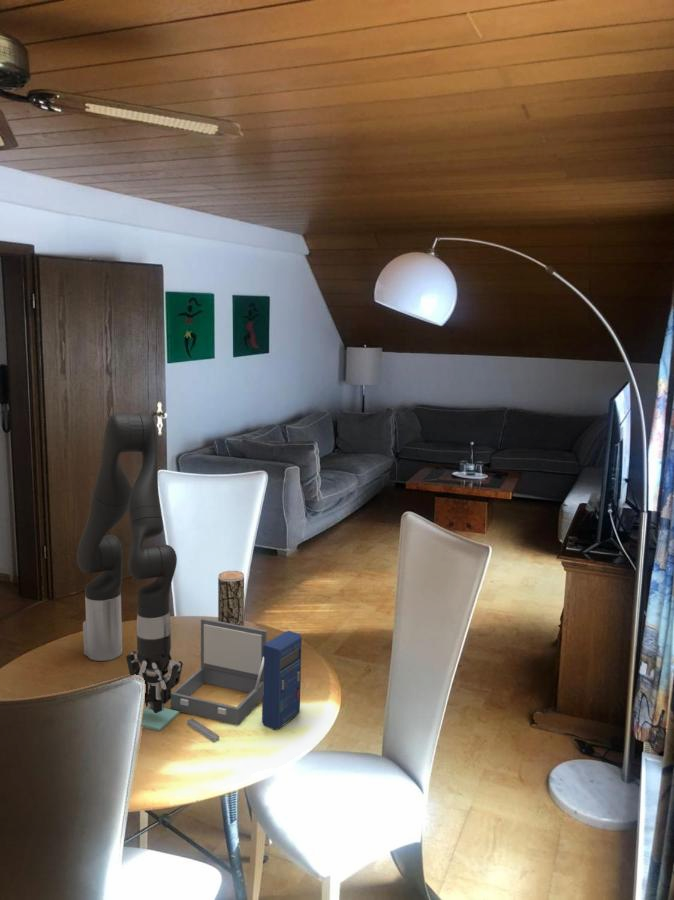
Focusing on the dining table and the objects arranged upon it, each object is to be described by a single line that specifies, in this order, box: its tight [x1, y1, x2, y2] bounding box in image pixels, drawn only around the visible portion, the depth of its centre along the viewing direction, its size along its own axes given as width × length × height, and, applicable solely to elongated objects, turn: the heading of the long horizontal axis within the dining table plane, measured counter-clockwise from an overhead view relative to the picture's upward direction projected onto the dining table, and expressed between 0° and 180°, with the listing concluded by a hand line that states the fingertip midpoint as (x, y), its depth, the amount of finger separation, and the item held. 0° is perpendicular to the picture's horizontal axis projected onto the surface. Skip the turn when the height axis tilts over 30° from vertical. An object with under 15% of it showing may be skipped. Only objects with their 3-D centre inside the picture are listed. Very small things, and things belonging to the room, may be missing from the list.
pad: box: [140, 706, 180, 732], centre depth 174 cm, size 8×8×1 cm
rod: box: [186, 717, 220, 743], centre depth 169 cm, size 10×1×1 cm, turn 47°
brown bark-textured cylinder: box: [217, 570, 245, 626], centre depth 200 cm, size 7×7×25 cm
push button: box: [142, 669, 166, 713], centre depth 173 cm, size 7×5×10 cm
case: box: [169, 618, 268, 726], centre depth 181 cm, size 19×16×17 cm
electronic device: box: [261, 630, 303, 730], centre depth 174 cm, size 10×5×20 cm, turn 148°
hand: (154, 699), depth 173 cm, fingers closed on push button, 5 cm apart
